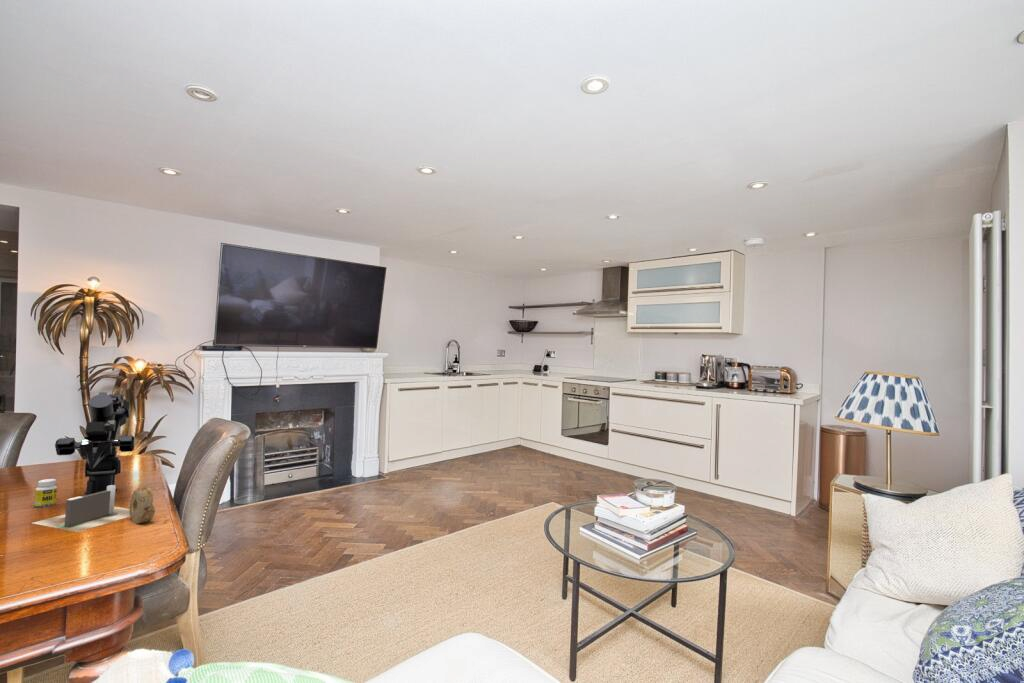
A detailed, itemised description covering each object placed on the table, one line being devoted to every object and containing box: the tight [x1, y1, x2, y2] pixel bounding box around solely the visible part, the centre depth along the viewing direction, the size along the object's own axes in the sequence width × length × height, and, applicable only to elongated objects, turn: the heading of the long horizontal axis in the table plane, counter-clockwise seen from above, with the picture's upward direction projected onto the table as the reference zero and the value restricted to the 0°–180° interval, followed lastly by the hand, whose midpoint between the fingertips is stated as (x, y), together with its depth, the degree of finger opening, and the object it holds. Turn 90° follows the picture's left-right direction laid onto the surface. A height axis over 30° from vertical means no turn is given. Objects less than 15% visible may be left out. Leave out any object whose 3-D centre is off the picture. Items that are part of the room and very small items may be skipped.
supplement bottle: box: [33, 478, 58, 509], centre depth 142 cm, size 5×5×8 cm
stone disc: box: [128, 486, 156, 524], centre depth 134 cm, size 10×4×10 cm, turn 57°
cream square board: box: [32, 506, 131, 533], centre depth 135 cm, size 18×18×1 cm
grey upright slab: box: [64, 484, 117, 527], centre depth 132 cm, size 12×2×8 cm, turn 168°
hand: (91, 467), depth 141 cm, fingers closed
